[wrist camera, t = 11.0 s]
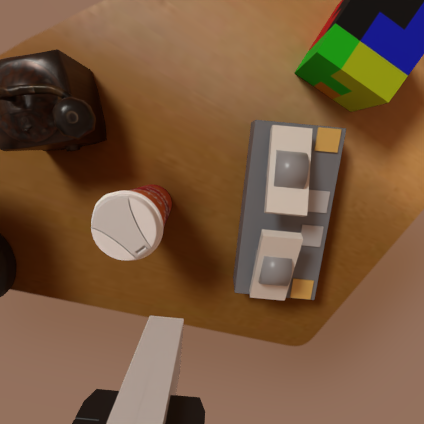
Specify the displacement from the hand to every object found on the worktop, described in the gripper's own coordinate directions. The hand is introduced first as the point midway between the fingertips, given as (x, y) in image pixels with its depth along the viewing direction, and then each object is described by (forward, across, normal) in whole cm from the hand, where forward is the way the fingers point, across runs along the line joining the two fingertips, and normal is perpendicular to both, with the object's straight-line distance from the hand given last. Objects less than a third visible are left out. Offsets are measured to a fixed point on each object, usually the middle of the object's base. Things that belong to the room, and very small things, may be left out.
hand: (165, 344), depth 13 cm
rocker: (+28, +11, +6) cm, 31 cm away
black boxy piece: (+35, -19, +12) cm, 41 cm away
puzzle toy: (+35, +18, +22) cm, 45 cm away
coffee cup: (+35, -8, -1) cm, 36 cm away
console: (+34, +12, 0) cm, 36 cm away
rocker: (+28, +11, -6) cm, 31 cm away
